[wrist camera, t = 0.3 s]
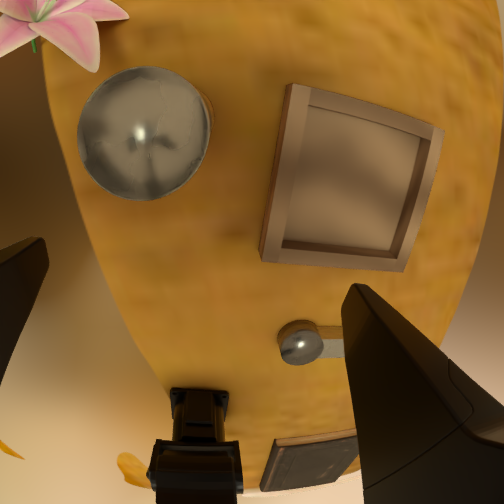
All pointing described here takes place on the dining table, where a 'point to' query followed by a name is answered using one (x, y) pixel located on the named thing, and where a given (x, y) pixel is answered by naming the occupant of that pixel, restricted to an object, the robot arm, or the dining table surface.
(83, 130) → the polished metal cylinder
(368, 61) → the dining table surface
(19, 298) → the robot arm
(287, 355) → the grey ratchet handle
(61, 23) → the lily
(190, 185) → the dining table surface
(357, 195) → the taupe tray
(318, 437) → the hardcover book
